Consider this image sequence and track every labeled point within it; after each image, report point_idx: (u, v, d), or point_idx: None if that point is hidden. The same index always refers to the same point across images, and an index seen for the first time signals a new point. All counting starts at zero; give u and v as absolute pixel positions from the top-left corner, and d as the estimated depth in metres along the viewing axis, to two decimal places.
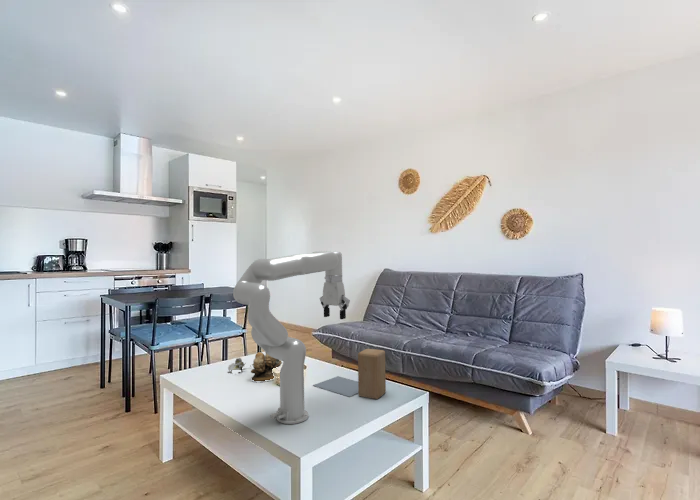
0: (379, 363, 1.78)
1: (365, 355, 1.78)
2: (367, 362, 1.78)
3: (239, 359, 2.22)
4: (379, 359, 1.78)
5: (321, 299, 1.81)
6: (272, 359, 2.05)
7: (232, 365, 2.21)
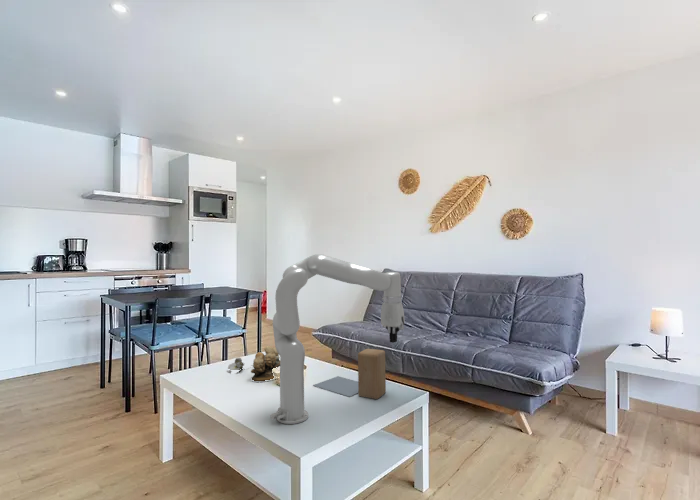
0: (379, 363, 1.78)
1: (365, 355, 1.78)
2: (367, 362, 1.78)
3: (239, 359, 2.22)
4: (379, 359, 1.78)
5: (384, 325, 1.77)
6: (272, 359, 2.05)
7: (232, 365, 2.22)
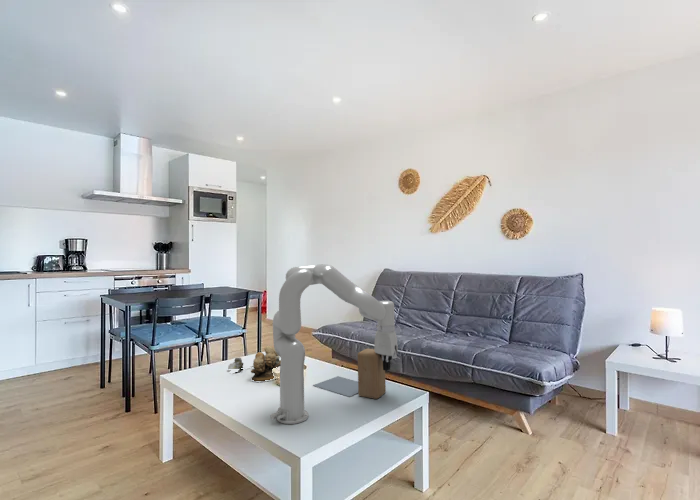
0: (379, 363, 1.78)
1: (365, 355, 1.78)
2: (367, 362, 1.78)
3: (239, 359, 2.22)
4: (379, 359, 1.78)
5: None
6: (272, 359, 2.05)
7: (233, 364, 2.23)
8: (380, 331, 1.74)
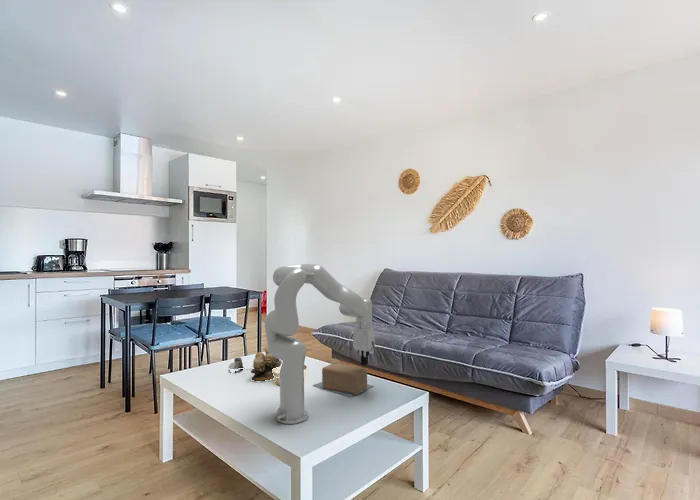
0: (331, 367, 1.90)
1: (323, 379, 1.90)
2: (328, 378, 1.89)
3: (239, 359, 2.22)
4: (328, 367, 1.91)
5: (356, 348, 1.88)
6: (272, 359, 2.05)
7: (233, 364, 2.24)
8: (358, 328, 1.83)
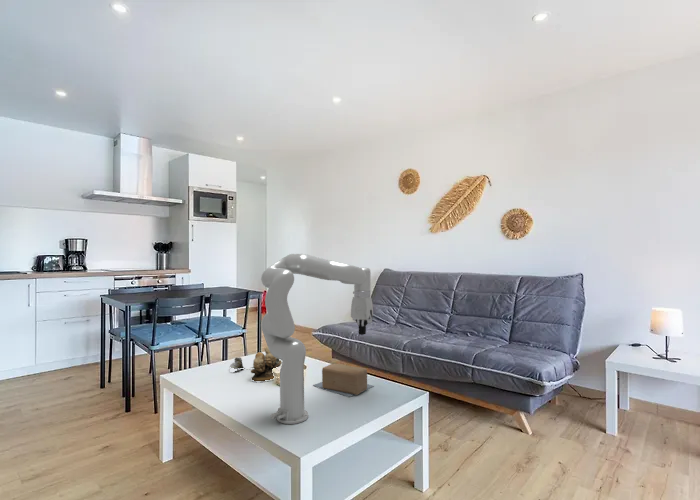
0: (331, 367, 1.90)
1: (323, 379, 1.90)
2: (328, 378, 1.89)
3: (239, 359, 2.23)
4: (328, 367, 1.91)
5: (354, 318, 1.85)
6: (272, 359, 2.05)
7: (235, 363, 2.25)
8: (356, 296, 1.80)
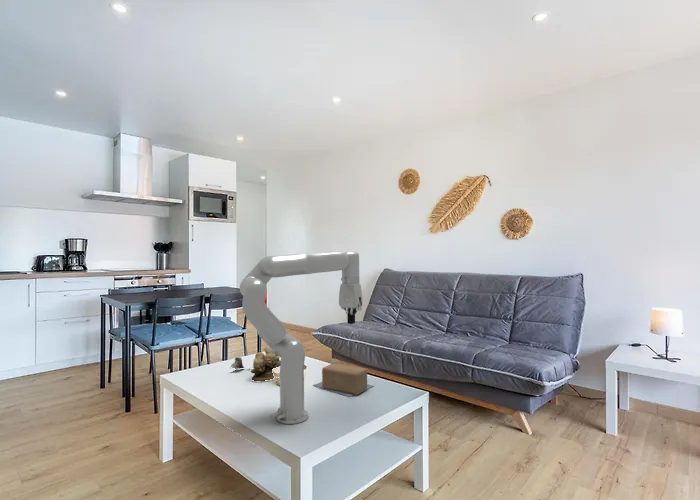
0: (331, 367, 1.90)
1: (323, 379, 1.90)
2: (328, 378, 1.89)
3: (239, 358, 2.23)
4: (328, 367, 1.91)
5: (343, 306, 1.73)
6: (272, 359, 2.05)
7: None
8: (344, 282, 1.68)
